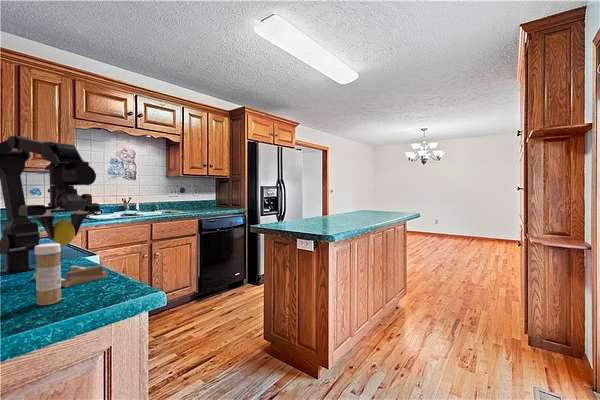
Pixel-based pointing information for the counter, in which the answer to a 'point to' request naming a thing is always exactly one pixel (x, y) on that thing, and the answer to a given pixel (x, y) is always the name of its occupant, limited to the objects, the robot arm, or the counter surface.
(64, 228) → the lemon
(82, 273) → the channel
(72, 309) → the counter surface
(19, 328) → the counter surface
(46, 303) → the sprinkles bottle
